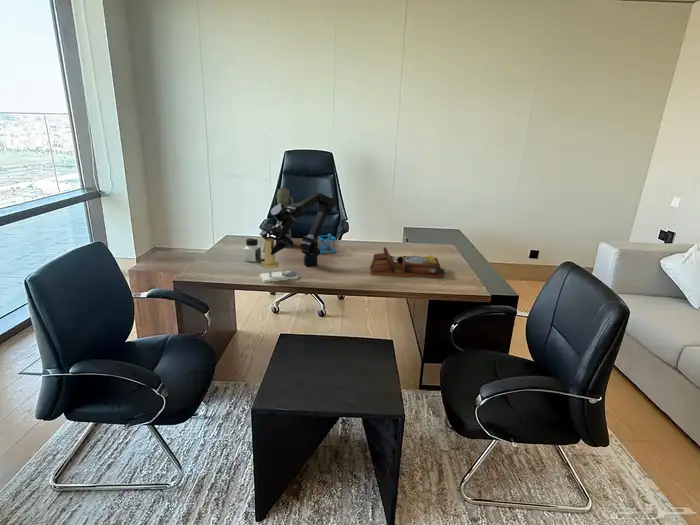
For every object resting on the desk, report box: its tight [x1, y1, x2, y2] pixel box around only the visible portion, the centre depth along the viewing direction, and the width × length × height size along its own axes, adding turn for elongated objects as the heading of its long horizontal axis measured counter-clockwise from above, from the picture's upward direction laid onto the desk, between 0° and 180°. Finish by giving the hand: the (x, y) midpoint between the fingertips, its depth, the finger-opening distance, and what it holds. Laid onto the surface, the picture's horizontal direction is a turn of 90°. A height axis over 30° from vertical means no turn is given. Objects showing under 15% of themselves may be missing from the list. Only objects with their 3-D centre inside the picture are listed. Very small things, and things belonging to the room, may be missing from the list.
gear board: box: [259, 269, 299, 283], centre depth 205 cm, size 17×9×4 cm, turn 113°
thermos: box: [273, 187, 294, 248], centre depth 254 cm, size 9×12×35 cm
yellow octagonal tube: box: [260, 239, 280, 269], centre depth 199 cm, size 8×8×13 cm
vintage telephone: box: [369, 246, 446, 279], centre depth 223 cm, size 24×12×40 cm
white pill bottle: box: [243, 237, 262, 263], centre depth 228 cm, size 7×7×12 cm
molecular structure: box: [317, 233, 337, 255], centre depth 248 cm, size 10×10×10 cm
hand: (267, 253), depth 198 cm, fingers closed on yellow octagonal tube, 5 cm apart
